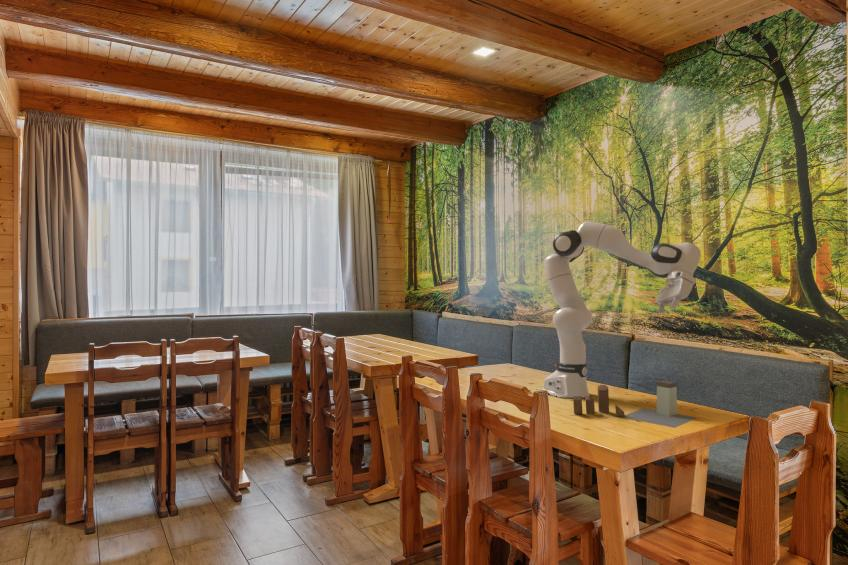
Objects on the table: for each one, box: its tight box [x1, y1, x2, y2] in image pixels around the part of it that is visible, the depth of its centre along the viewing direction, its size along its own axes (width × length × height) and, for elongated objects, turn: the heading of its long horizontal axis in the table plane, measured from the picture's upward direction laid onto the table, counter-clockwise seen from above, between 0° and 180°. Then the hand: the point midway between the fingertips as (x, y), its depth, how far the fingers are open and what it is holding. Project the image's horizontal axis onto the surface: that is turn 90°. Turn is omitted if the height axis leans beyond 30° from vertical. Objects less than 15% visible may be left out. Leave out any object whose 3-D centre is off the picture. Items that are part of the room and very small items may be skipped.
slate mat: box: [619, 407, 698, 428], centre depth 203 cm, size 20×20×1 cm
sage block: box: [656, 380, 678, 416], centre depth 208 cm, size 5×5×12 cm
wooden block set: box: [572, 384, 626, 417], centre depth 208 cm, size 18×9×10 cm, turn 76°
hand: (665, 310), depth 219 cm, fingers open, 8 cm apart
